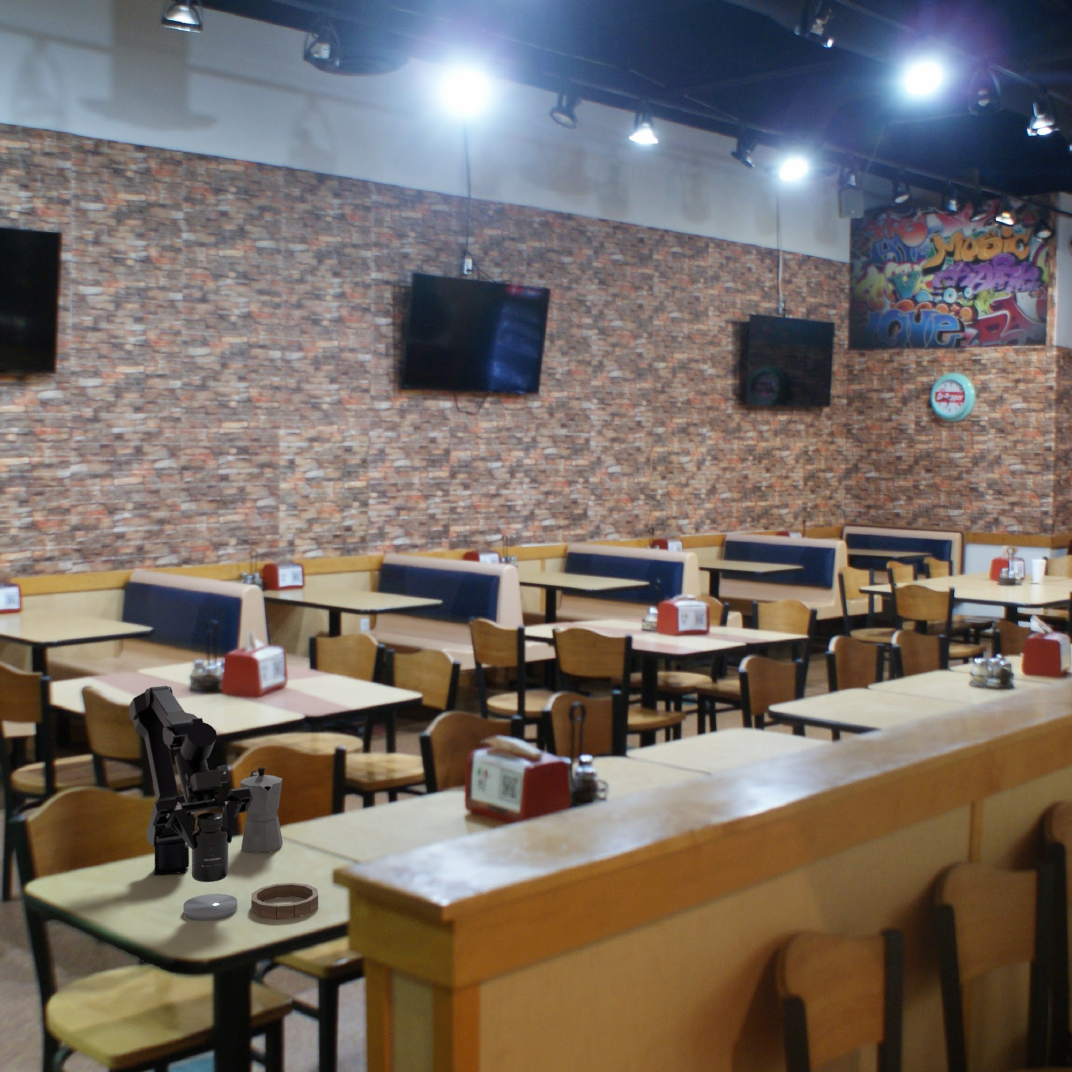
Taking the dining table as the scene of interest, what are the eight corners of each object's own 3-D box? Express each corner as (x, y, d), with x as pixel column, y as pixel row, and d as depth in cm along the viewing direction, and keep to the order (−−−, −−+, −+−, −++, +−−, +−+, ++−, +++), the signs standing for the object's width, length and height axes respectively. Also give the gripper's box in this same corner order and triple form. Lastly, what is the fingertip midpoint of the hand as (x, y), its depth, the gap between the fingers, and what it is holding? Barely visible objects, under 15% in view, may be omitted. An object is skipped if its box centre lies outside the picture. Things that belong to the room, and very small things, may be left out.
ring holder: (251, 921, 235) (251, 908, 234) (251, 898, 247) (251, 885, 247) (319, 916, 237) (319, 903, 237) (316, 893, 250) (316, 881, 249)
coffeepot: (290, 852, 275) (289, 772, 274) (247, 858, 271) (246, 776, 270) (273, 833, 289) (273, 756, 287) (232, 838, 285) (231, 760, 283)
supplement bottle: (209, 885, 235) (208, 823, 234) (184, 878, 239) (183, 817, 238) (236, 874, 241) (235, 814, 240) (211, 868, 245) (210, 808, 244)
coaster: (182, 922, 234) (181, 914, 234) (184, 903, 244) (184, 895, 244) (236, 918, 236) (236, 910, 236) (237, 899, 246) (237, 892, 246)
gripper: (153, 758, 236) (170, 831, 228) (249, 746, 246) (269, 816, 238) (143, 789, 244) (159, 861, 235) (237, 776, 254) (255, 845, 245)
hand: (212, 845), depth 238 cm, fingers closed on supplement bottle, 7 cm apart
